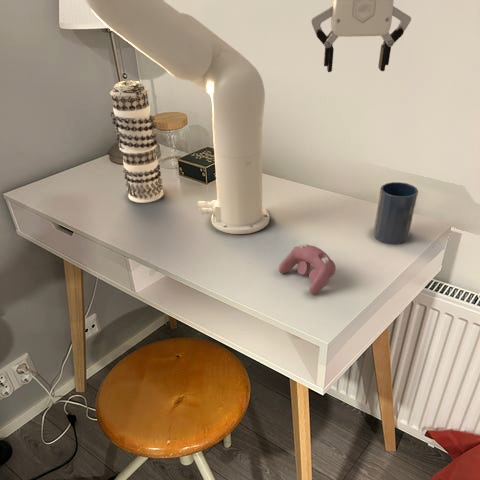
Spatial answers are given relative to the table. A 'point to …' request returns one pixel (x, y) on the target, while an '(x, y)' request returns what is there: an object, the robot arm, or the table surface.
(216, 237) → the table surface
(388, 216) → the cup
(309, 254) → the video game controller
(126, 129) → the decorative candle
